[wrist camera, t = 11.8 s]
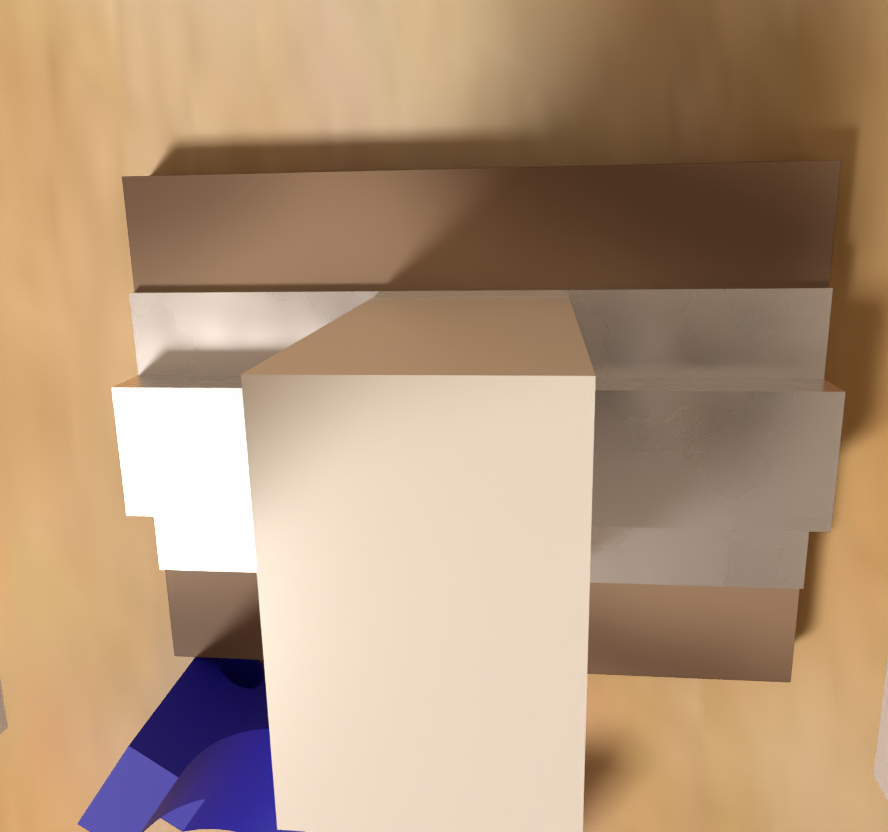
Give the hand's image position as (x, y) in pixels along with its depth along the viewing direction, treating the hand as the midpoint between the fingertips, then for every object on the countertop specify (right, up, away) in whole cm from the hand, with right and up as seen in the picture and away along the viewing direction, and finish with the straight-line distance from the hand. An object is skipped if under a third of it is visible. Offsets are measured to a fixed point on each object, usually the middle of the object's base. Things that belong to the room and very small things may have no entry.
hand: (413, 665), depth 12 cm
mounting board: (+1, +3, +12) cm, 13 cm away
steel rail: (+1, +3, +10) cm, 11 cm away
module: (+1, +3, +10) cm, 11 cm away
